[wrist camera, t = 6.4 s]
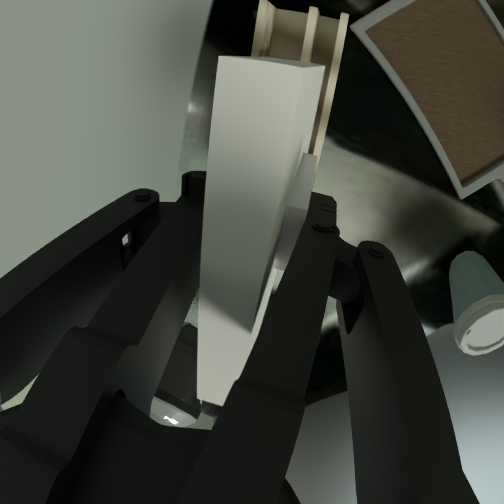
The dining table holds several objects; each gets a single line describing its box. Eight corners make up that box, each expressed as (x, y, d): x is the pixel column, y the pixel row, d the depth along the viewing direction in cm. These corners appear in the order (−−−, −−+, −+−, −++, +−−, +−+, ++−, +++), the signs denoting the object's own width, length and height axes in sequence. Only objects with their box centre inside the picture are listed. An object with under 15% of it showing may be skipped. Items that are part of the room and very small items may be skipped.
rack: (310, 192, 44) (305, 215, 39) (246, 177, 45) (232, 197, 40) (346, 22, 30) (349, 14, 25) (271, 9, 31) (259, -1, 26)
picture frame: (459, -36, 20) (557, 156, 28) (455, -33, 21) (552, 153, 30) (348, 25, 30) (467, 215, 38) (348, 27, 31) (463, 210, 40)
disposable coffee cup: (502, 247, 40) (538, 310, 28) (475, 297, 46) (498, 364, 34) (451, 232, 42) (482, 298, 30) (426, 287, 48) (442, 358, 36)
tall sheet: (299, 192, 30) (234, 409, 12) (282, 188, 30) (197, 398, 12) (325, 65, 23) (303, 67, 5) (306, 61, 23) (218, 55, 5)
